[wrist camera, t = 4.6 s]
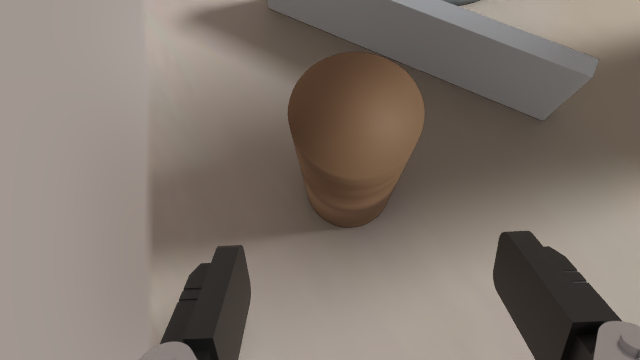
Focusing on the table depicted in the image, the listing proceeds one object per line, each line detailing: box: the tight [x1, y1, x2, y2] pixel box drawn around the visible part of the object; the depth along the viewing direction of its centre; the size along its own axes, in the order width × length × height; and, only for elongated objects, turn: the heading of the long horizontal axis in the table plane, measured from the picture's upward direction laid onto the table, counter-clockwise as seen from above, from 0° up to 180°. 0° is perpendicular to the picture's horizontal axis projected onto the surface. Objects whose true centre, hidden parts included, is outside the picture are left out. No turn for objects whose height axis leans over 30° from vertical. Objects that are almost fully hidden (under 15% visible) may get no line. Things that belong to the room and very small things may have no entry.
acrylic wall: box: [267, 0, 599, 121], centre depth 24 cm, size 20×1×5 cm, turn 62°
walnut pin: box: [288, 52, 425, 227], centre depth 19 cm, size 5×5×10 cm
